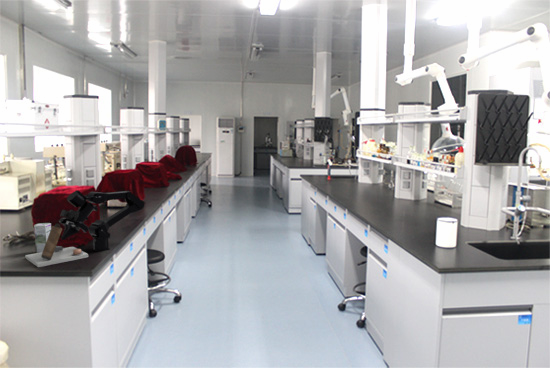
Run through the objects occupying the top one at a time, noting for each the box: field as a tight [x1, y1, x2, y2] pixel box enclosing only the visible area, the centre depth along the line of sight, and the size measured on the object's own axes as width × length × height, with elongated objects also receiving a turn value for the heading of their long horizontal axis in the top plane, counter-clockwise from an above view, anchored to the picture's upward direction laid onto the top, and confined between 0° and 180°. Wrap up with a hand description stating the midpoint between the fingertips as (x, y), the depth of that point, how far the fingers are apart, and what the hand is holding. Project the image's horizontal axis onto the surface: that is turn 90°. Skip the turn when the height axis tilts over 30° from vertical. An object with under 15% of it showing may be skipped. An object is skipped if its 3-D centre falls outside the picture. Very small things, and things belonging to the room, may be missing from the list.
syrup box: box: [33, 222, 52, 253], centre depth 208 cm, size 6×6×14 cm
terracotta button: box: [73, 248, 82, 255], centre depth 198 cm, size 4×4×2 cm
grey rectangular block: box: [54, 245, 64, 251], centre depth 204 cm, size 4×3×2 cm
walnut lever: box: [41, 223, 63, 260], centre depth 192 cm, size 3×6×17 cm, turn 53°
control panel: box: [24, 246, 89, 268], centre depth 198 cm, size 22×20×2 cm
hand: (62, 239), depth 196 cm, fingers closed
